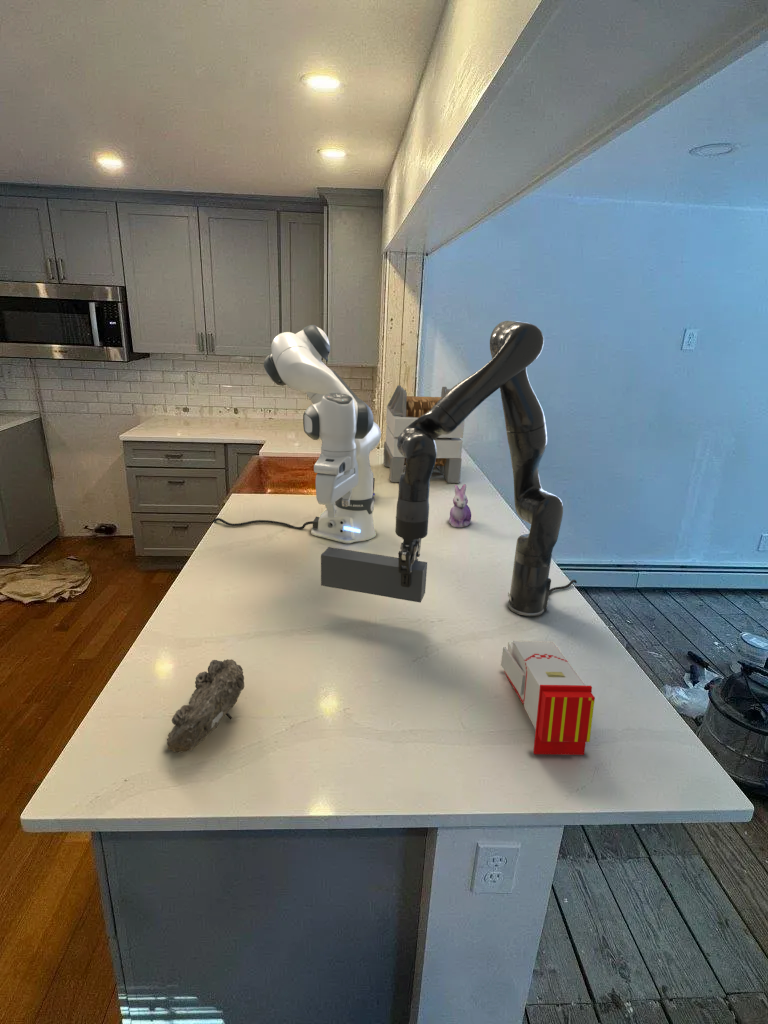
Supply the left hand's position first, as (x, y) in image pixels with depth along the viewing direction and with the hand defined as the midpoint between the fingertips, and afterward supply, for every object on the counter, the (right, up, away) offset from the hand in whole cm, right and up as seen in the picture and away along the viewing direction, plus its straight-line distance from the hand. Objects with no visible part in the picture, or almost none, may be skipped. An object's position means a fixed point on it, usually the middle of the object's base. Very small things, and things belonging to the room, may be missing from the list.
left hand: (339, 511), depth 147 cm
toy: (+43, -40, -32) cm, 67 cm away
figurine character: (+4, +5, +87) cm, 88 cm away
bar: (+9, -19, -7) cm, 22 cm away
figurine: (+40, -5, +65) cm, 76 cm away
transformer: (+29, +19, +128) cm, 132 cm away
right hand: (+18, -17, -10) cm, 26 cm away
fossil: (-21, -39, -39) cm, 59 cm away
